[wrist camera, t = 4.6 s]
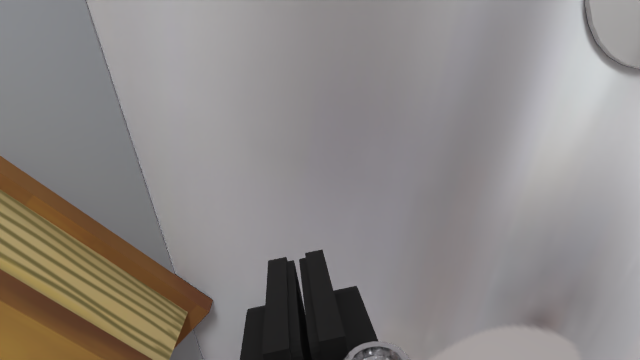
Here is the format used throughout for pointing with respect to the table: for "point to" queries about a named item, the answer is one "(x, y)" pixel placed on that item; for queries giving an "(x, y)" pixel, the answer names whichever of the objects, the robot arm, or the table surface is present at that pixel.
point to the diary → (81, 284)
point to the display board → (74, 124)
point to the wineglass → (616, 28)
